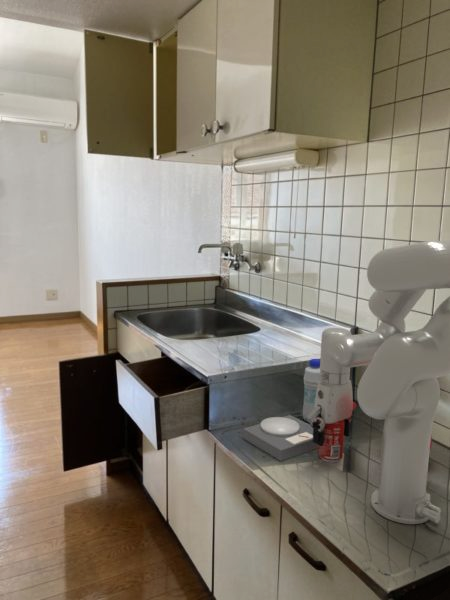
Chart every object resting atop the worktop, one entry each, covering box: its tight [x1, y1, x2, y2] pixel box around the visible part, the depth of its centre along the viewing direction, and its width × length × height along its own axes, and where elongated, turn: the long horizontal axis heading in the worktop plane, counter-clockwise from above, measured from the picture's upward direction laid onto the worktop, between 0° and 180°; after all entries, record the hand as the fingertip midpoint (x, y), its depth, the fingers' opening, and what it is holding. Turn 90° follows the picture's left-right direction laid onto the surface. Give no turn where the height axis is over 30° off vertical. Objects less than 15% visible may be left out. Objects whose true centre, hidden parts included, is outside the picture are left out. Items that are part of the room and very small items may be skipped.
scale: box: [242, 414, 318, 462], centre depth 135 cm, size 16×18×4 cm
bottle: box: [302, 358, 320, 424], centre depth 148 cm, size 7×7×20 cm
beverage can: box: [317, 418, 345, 464], centre depth 125 cm, size 6×6×12 cm
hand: (331, 439), depth 125 cm, fingers open, 9 cm apart
